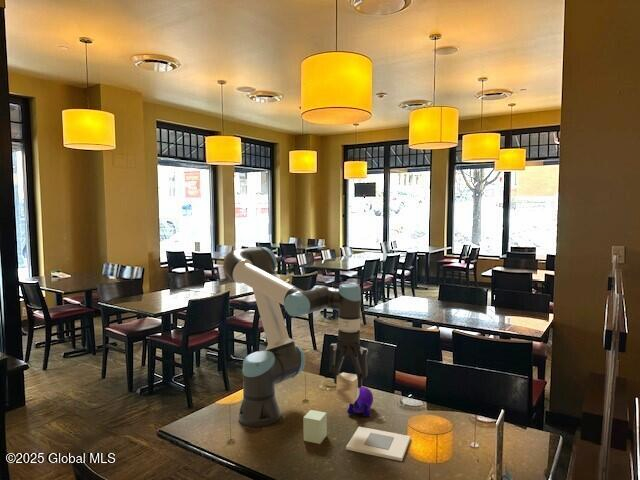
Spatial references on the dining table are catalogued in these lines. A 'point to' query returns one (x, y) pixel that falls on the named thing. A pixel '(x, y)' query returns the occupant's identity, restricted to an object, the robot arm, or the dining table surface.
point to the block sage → (315, 426)
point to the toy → (362, 403)
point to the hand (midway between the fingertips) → (347, 394)
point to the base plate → (379, 443)
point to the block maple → (346, 388)
